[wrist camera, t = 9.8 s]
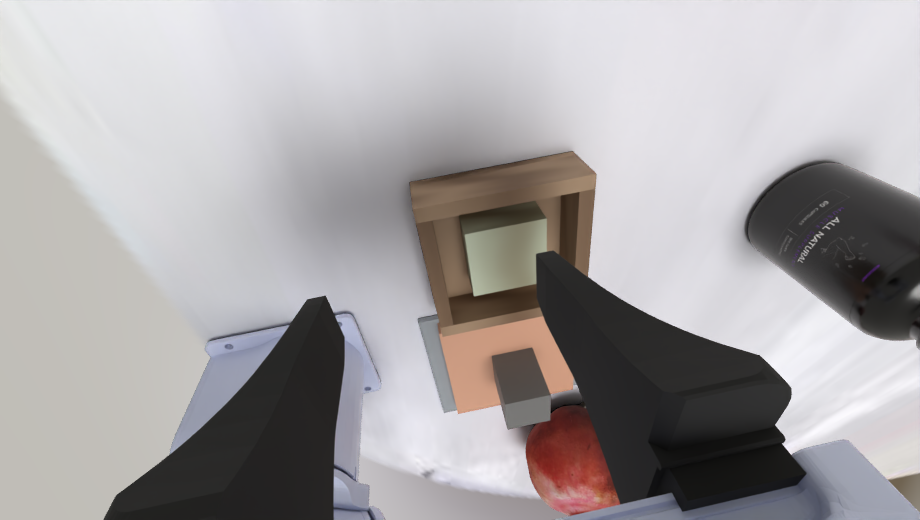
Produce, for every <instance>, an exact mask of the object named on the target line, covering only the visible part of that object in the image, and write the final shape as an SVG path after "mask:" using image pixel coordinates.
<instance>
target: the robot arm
mask: <svg viewBox="0 0 920 520" xmlns="http://www.w3.org/2000/svg"><path fill="white" fill-rule="evenodd" d="M536 289H537V300H538V303H539V306H540V309H541V312H542V314H543V317H544V320H545V322H546V324H547V326H548V328H549V330H550V332H551V334H552V336H553V338H554V340H555V342H556V344H557V346H558V348H559V350H560V352H561V354H562V356H563V358H564V360H565V362H566V364H567V365H568V367H569V369H570V371H571V373H572V375H573V377H574V379H575V382H576V384H577V386H578V388H579V391H580V393H581V396H582V398H583V401H584V404H585V406H586V409H587V411H588V414H589V417H590V419H591V422H592V425H593V427H594V430H595V433H596V435H597V438H598V441H599V444H600V446H601V449H602V452H603V455H604V458H605V461H606V463H607V466H608V469H609V472H610V475H611V478H612V481H613V484H614V487H615V490H616V493H617V496H618V499H619V502H620V505H616V506H612V507H607V508H603V509H599V510H594V511H590V512H585V513H581V514H577V515H572V516H568V517H564V518H559V519H555V520H920V512H918V510H917V509H915V507H914V506H913V505H912V504H911V503H910V502H909V501H908V500H907V499H906V498H905V497H904V496H903V495H902V494H901V493H900V492H899V491H898V490H897V489H896V488H895V487H894V486H893V485H892V484H891V483H890V482H889V481H888V480H887V479H886V478H885V477H884V476H883V475H882V474H881V473H880V472H879V471H878V470H877V469H876V468H875V467H874V466H873V465H872V464H871V463H870V462H869V461H868V460H867V459H866V458H865V457H864V456H863V455H862V454H861V453H860V452H859V451H858V450H857V449H856V448H855V447H854V446H853V445H852V444H851V443H850V442H849V441H848V440H838V441H834V442H830V443H825V444H821V445H816V446H812V447H808V448H804V449H801V450H799V451H797V452H795V453H794V454H792V455H791V454H790V453H789V452H788V451H787V449H786V448H785V447H784V446H783V445H782V443H784V442H785V437H784V435H783V434H782V433H781V432H780V431H779V429H778V428H777V427H776V426H775V424H776V423H777V421H778V420H779V418H780V417H781V415H782V413H783V412H784V410H785V409H786V407H787V406H788V404H789V402H790V399H791V395H792V394H791V387H790V386H789V385H788V383H787V382H786V381H785V380H784V379H783V378H782V377H781V376H780V375H779V374H778V373H777V372H776V371H775V370H774V369H773V368H772V367H771V366H770V365H769V364H768V363H767V362H766V361H765V360H764V359H763V358H762V357H761V356H760V355H756V354H753V353H750V352H746V351H743V350H740V349H736V348H733V347H729V346H726V345H723V344H720V343H717V342H714V341H711V340H708V339H705V338H703V337H700V336H697V335H694V334H692V333H689V332H687V331H684V330H682V329H679V328H677V327H675V326H672V325H670V324H668V323H666V322H663V321H661V320H659V319H657V318H655V317H653V316H651V315H649V314H647V313H645V312H643V311H641V310H639V309H637V308H635V307H634V306H632V305H630V304H628V303H626V302H625V301H623V300H621V299H620V298H618V297H617V296H615V295H613V294H612V293H610V292H609V291H607V290H606V289H604V288H603V287H601V286H600V285H598V284H597V283H596V282H594V281H593V280H591V279H590V278H589V277H587V276H586V275H585V274H583V273H582V272H581V271H579V270H578V269H577V268H575V267H574V266H573V265H572V264H570V263H569V262H568V261H566V260H565V259H564V258H563V257H561V256H560V255H559V254H558V253H556V252H555V251H554V250H552V251H547V252H542V253H537V254H536ZM338 322H341V323H338ZM229 344H231V345H229ZM205 351H206V352H207V353H208V355H209V356H210V357H211V358H210V360H209V362H208V364H207V366H206V368H205V371H204V373H203V375H202V377H201V379H200V382H199V384H198V386H197V388H196V390H195V393H194V395H193V397H192V399H191V401H190V404H189V406H188V408H187V410H186V412H185V415H184V417H183V419H182V421H181V424H180V426H179V428H178V430H177V432H176V434H175V437H174V440H173V442H172V446H171V450H170V455H169V456H167V457H166V458H165V459H164V460H162V461H161V462H160V463H159V464H157V465H156V466H155V467H153V468H152V469H151V470H149V471H148V472H147V473H146V474H144V475H143V476H141V477H140V478H139V479H138V480H136V481H135V482H134V483H132V484H131V485H130V486H128V487H127V488H126V489H124V490H123V491H121V492H120V493H119V494H117V495H116V497H115V499H114V500H113V502H112V504H111V506H110V508H109V510H108V512H107V514H106V516H105V518H104V520H385V518H384V516H383V514H382V512H381V511H380V510H379V509H378V508H376V507H374V506H369V485H366V484H361V483H358V473H359V456H360V437H361V419H362V401H363V394H364V393H368V392H373V391H377V390H379V389H380V388H381V381H380V379H379V376H378V374H377V372H376V369H375V367H374V365H373V362H372V360H371V357H370V355H369V353H368V350H367V348H366V346H365V343H364V341H363V338H362V336H361V334H360V331H359V329H358V326H357V324H356V322H355V319H354V317H353V316H352V315H350V314H341V315H336V316H335V315H334V313H333V311H332V309H331V306H330V304H329V302H328V300H327V298H326V296H322V297H317V298H312V299H307V301H306V302H305V304H304V305H303V306H302V308H301V309H300V311H299V312H298V314H297V315H296V317H295V318H294V320H293V321H292V322H291V324H290V325H286V326H281V327H276V328H272V329H267V330H262V331H257V332H252V333H247V334H242V335H237V336H232V337H227V338H222V339H217V340H212V341H209V342H208V343H207V344H206V346H205Z"/></svg>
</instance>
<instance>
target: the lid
mask: <svg viewBox="0 0 920 520" xmlns="http://www.w3.org/2000/svg"><path fill="white" fill-rule="evenodd" d="M437 324H438V331H439V336H440V340H441V345H442V349H443V353H444V357H445V361H446V365H447V370H448V374H449V378H450V382H451V386H452V390H453V395H454V399H455V403H456V407H457V411H458V414H460V413H465V412H470V411H474V410H479V409H484V408H488V407H493V406H497V405H501V406H502V410H503V414H504V418H505V421H506V425H507V429H513V428H517V427H522V426H527V425H531V424H536V423H540V422H545V421H550V411H551V394H553V393H558V392H563V391H567V390H572V389H573V379H574V377H573V375H572V373H571V371H570V369H569V367H568V365H567V364H566V362H565V360H564V358H563V356H562V354H561V352H560V350H559V348H558V346H557V344H556V342H555V340H554V338H553V336H552V334H551V332H550V330H549V328H548V326H547V324H546V322H545V320H544V317H543V316H542V317H537V318H532V319H527V320H522V321H517V322H513V323H508V324H503V325H498V326H493V327H488V328H484V329H479V330H474V331H469V332H464V333H459V334H455V335H450V336H445V337H443V336H442V332H441V328H440V324H439V323H437Z"/></svg>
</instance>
